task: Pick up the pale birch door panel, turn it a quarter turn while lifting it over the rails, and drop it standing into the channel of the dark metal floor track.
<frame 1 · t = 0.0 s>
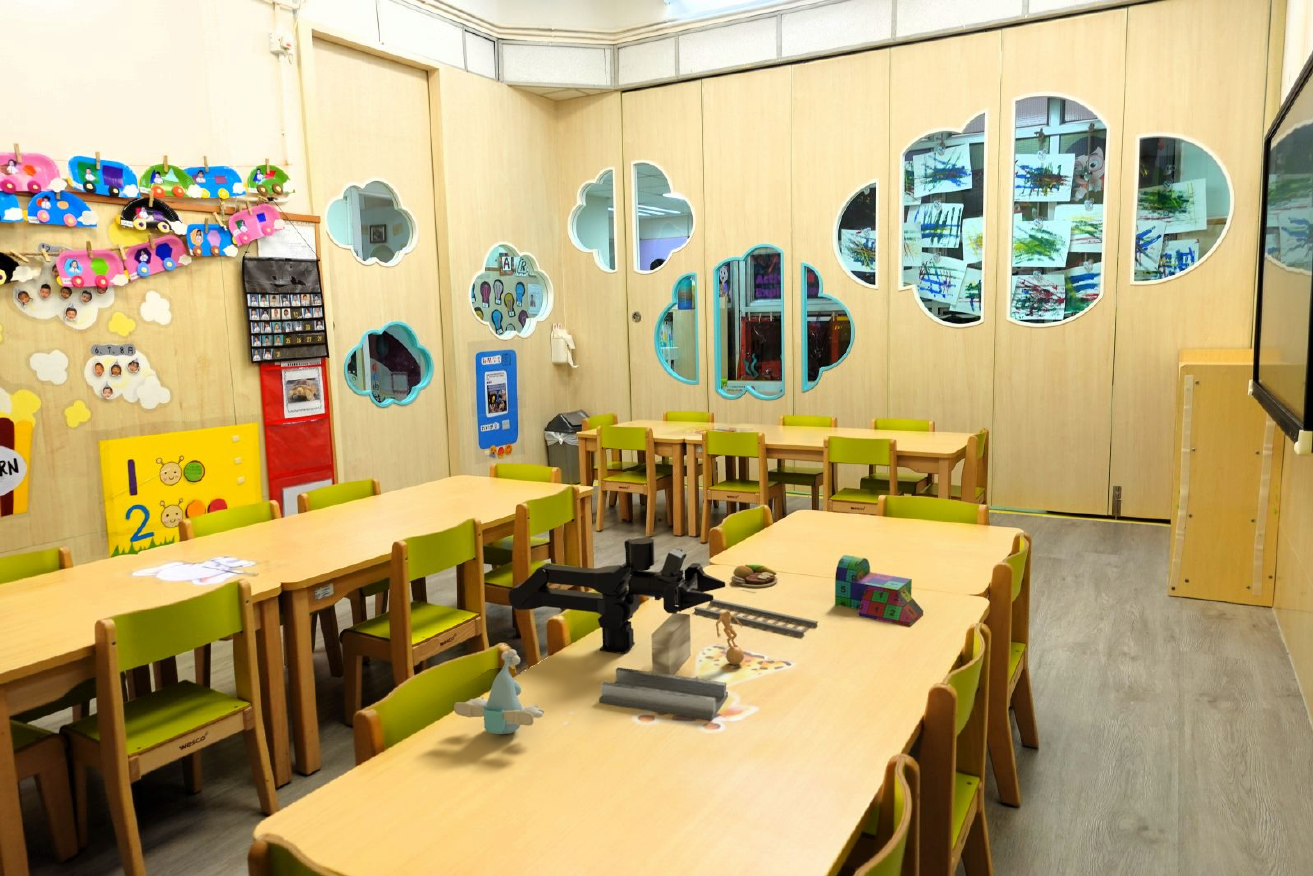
hand: (719, 591, 193), 17 cm above the table, tool horizontal, fingers open, 9 cm apart
toy figure: (506, 732, 165), on the table
figurine: (731, 663, 194), on the table
door panel: (672, 666, 193), on the table
toy food set: (753, 583, 251), on the table
model train track: (754, 622, 221), on the table
toy train engine: (878, 610, 226), on the table
floor track: (663, 699, 177), on the table
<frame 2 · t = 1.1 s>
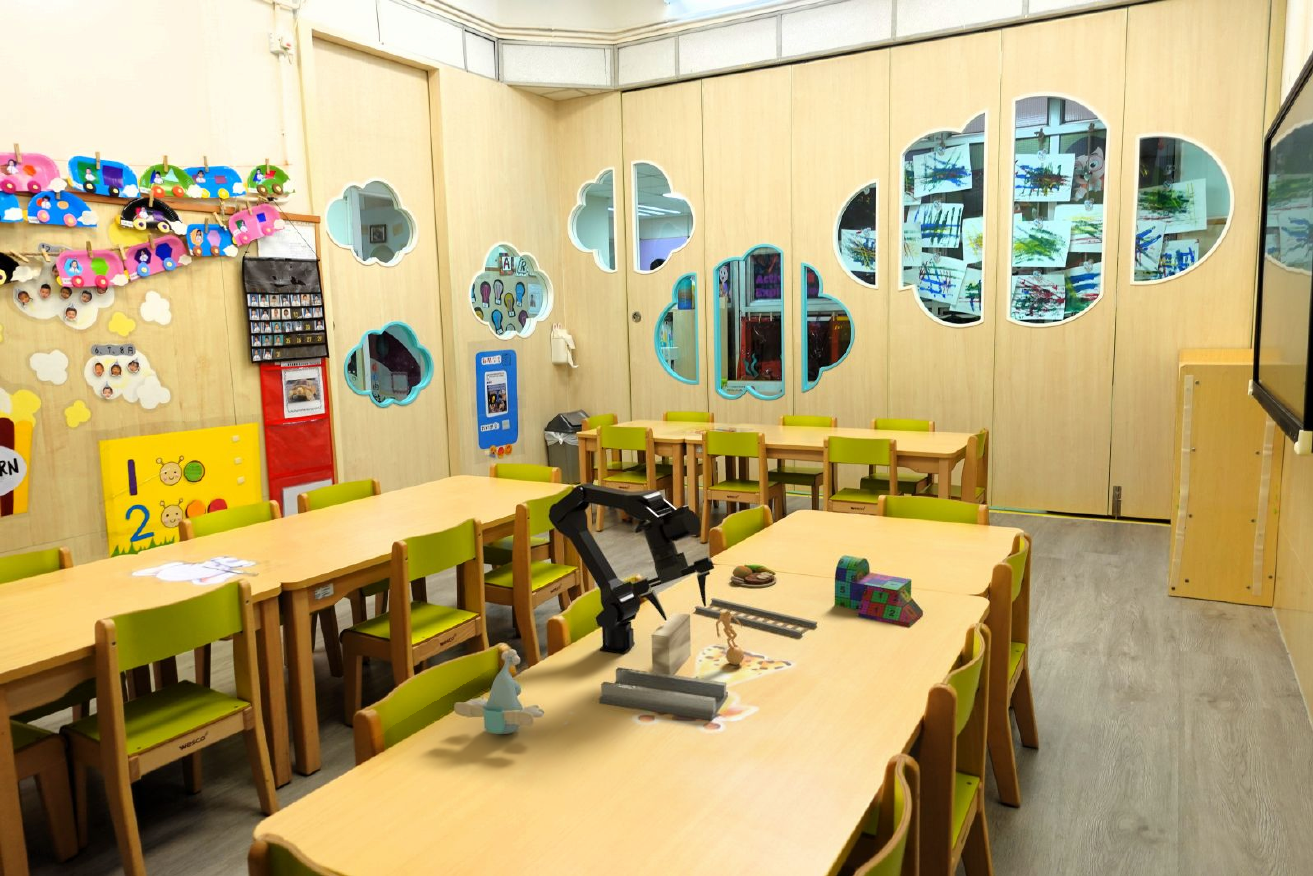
hand: (685, 613, 191), 12 cm above the table, tool tilted 25°, fingers open, 9 cm apart
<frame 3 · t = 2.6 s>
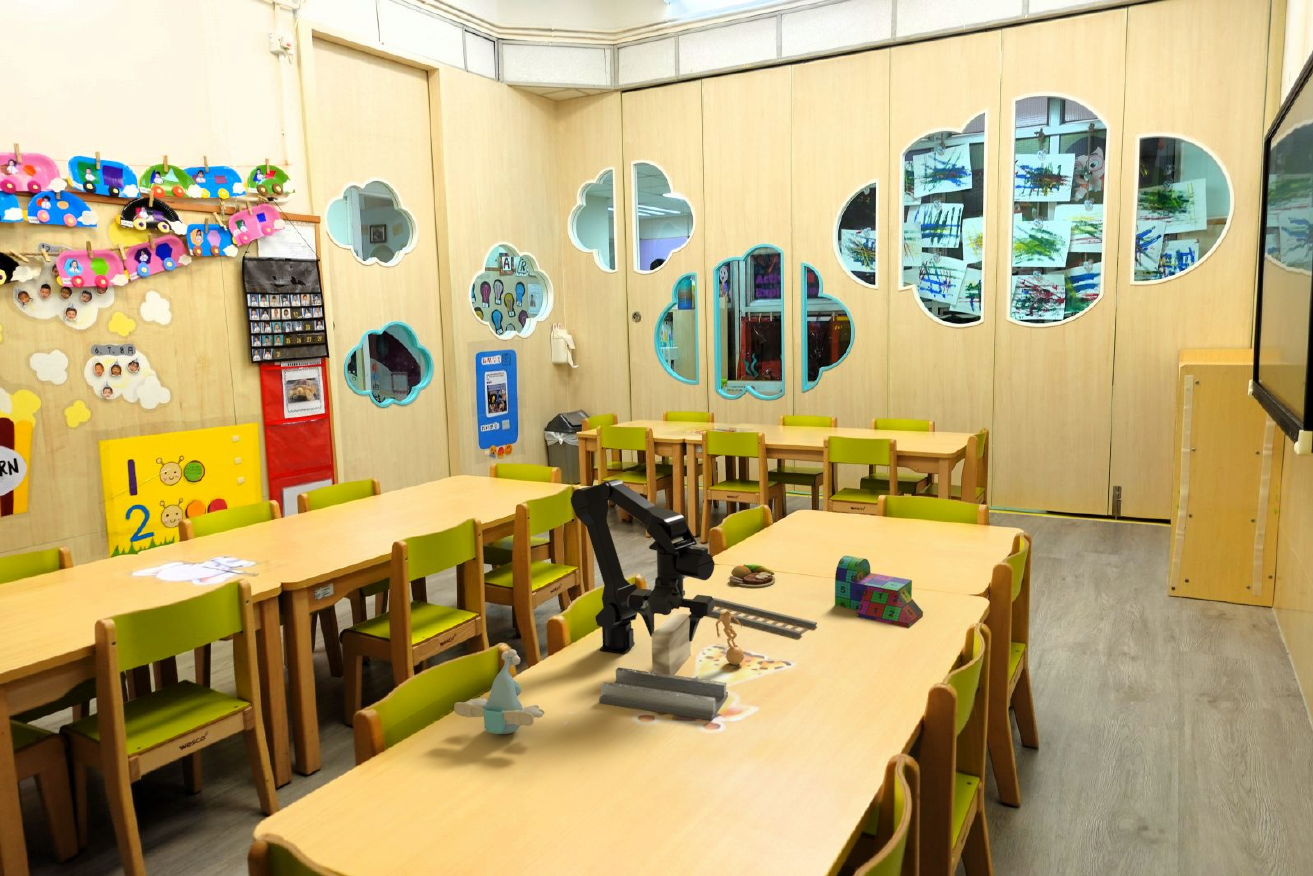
hand: (671, 638, 192), 6 cm above the table, tool pointing down, fingers open, 9 cm apart
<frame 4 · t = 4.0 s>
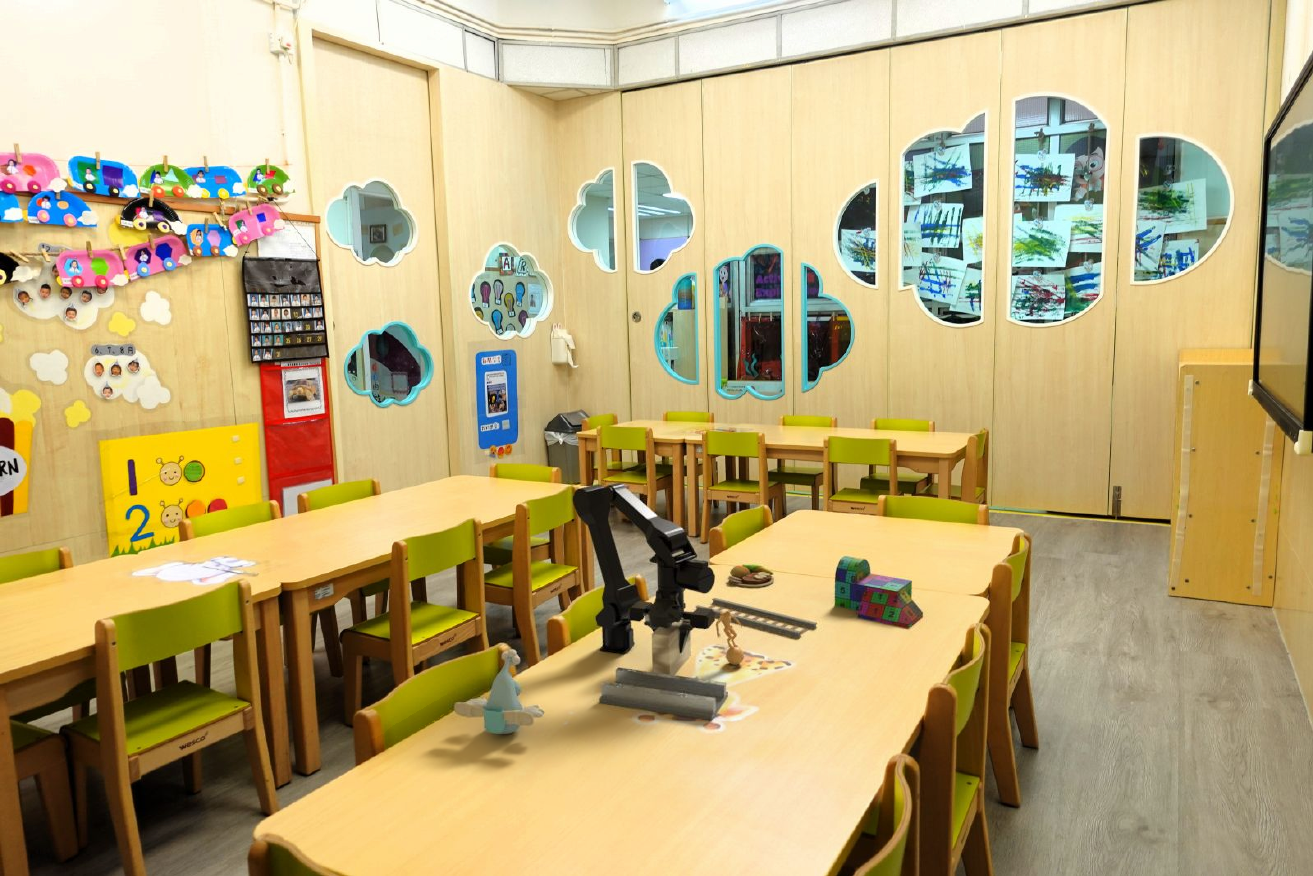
hand: (672, 651, 192), 4 cm above the table, tool pointing down, fingers closed on door panel, 4 cm apart
door panel: (672, 666, 193), on the table, touching gripper
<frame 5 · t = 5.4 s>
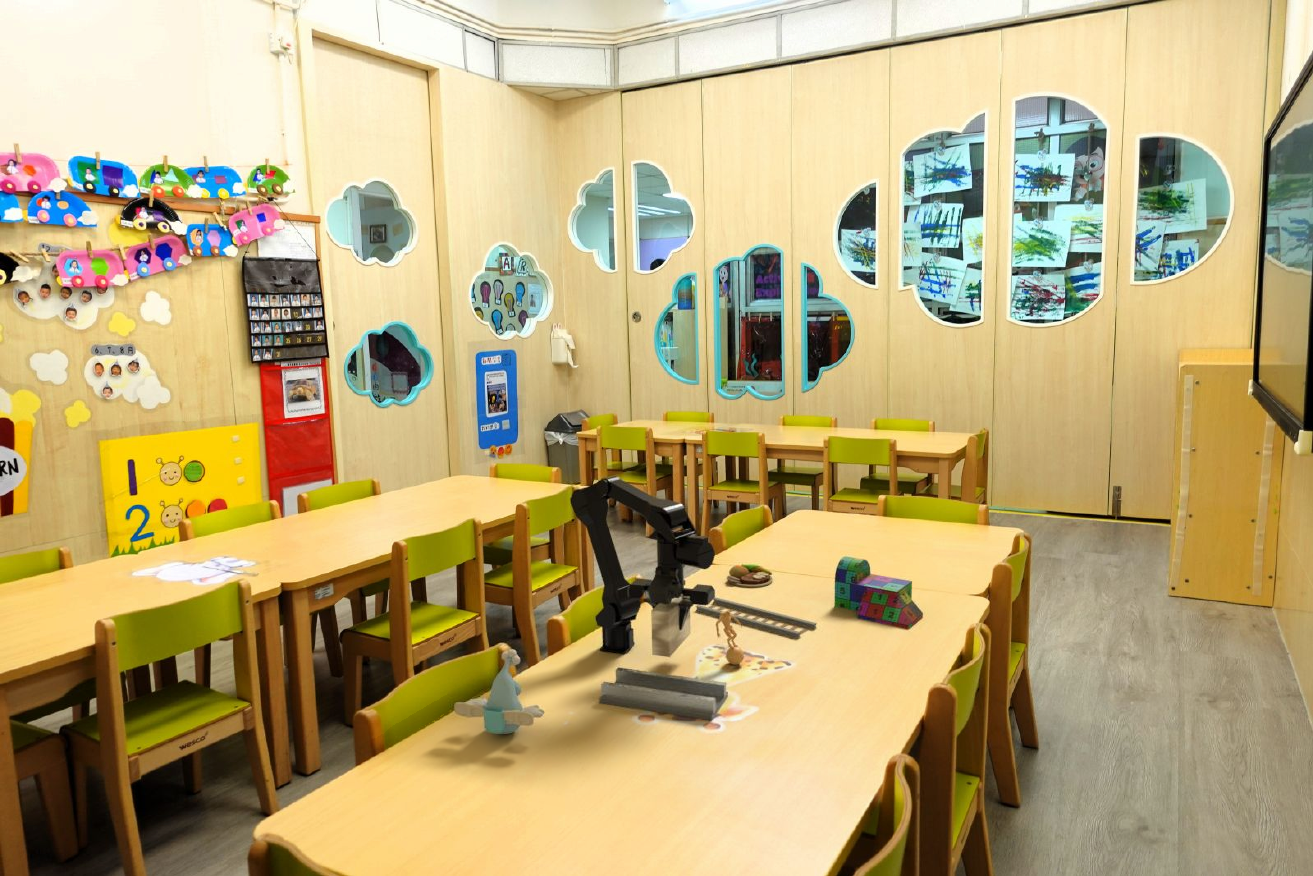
hand: (671, 628, 192), 9 cm above the table, tool pointing down, fingers closed on door panel, 4 cm apart
door panel: (672, 644, 192), point 5 cm above the table, touching gripper
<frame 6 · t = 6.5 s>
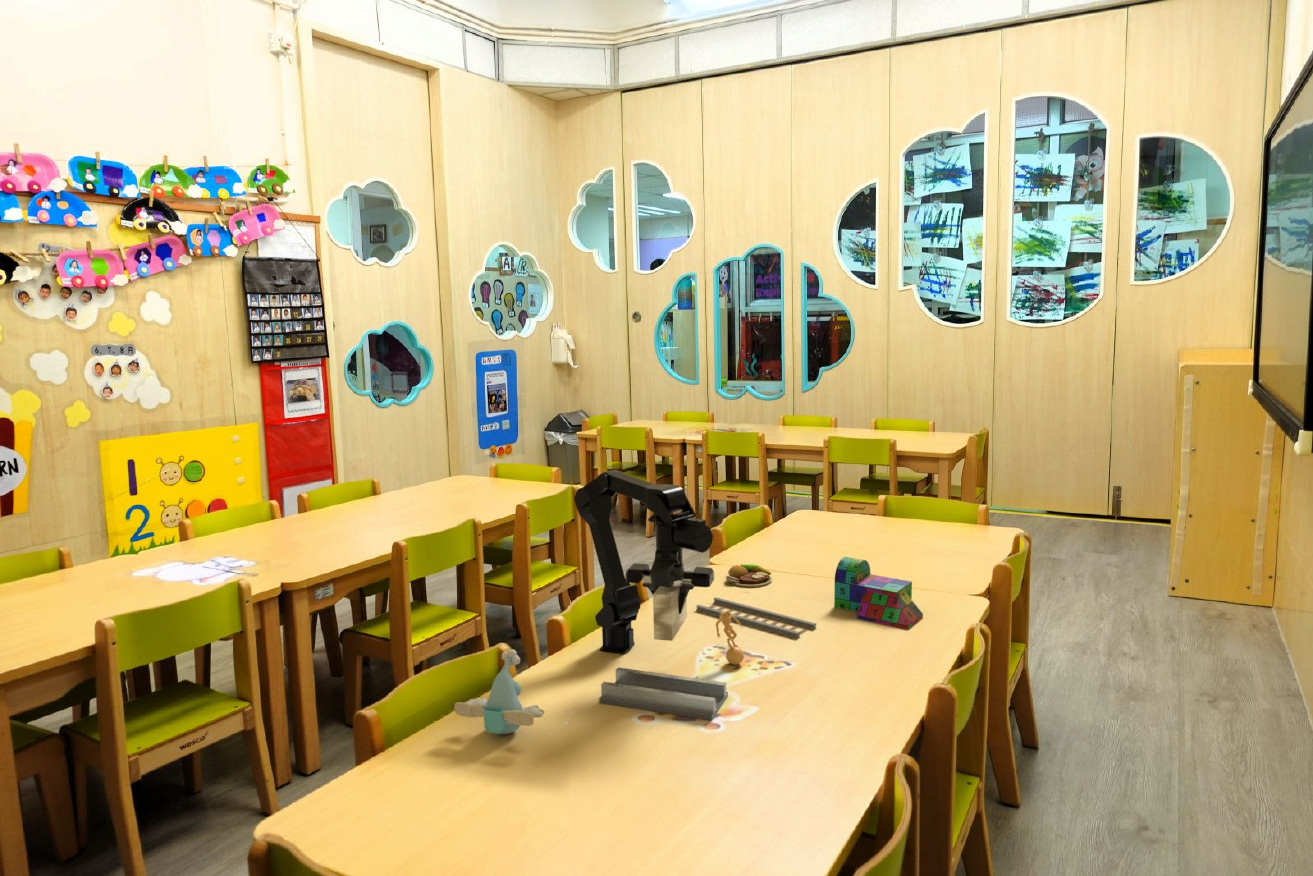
hand: (670, 612, 190), 13 cm above the table, tool pointing down, fingers closed on door panel, 4 cm apart
door panel: (670, 628, 190), point 9 cm above the table, touching gripper
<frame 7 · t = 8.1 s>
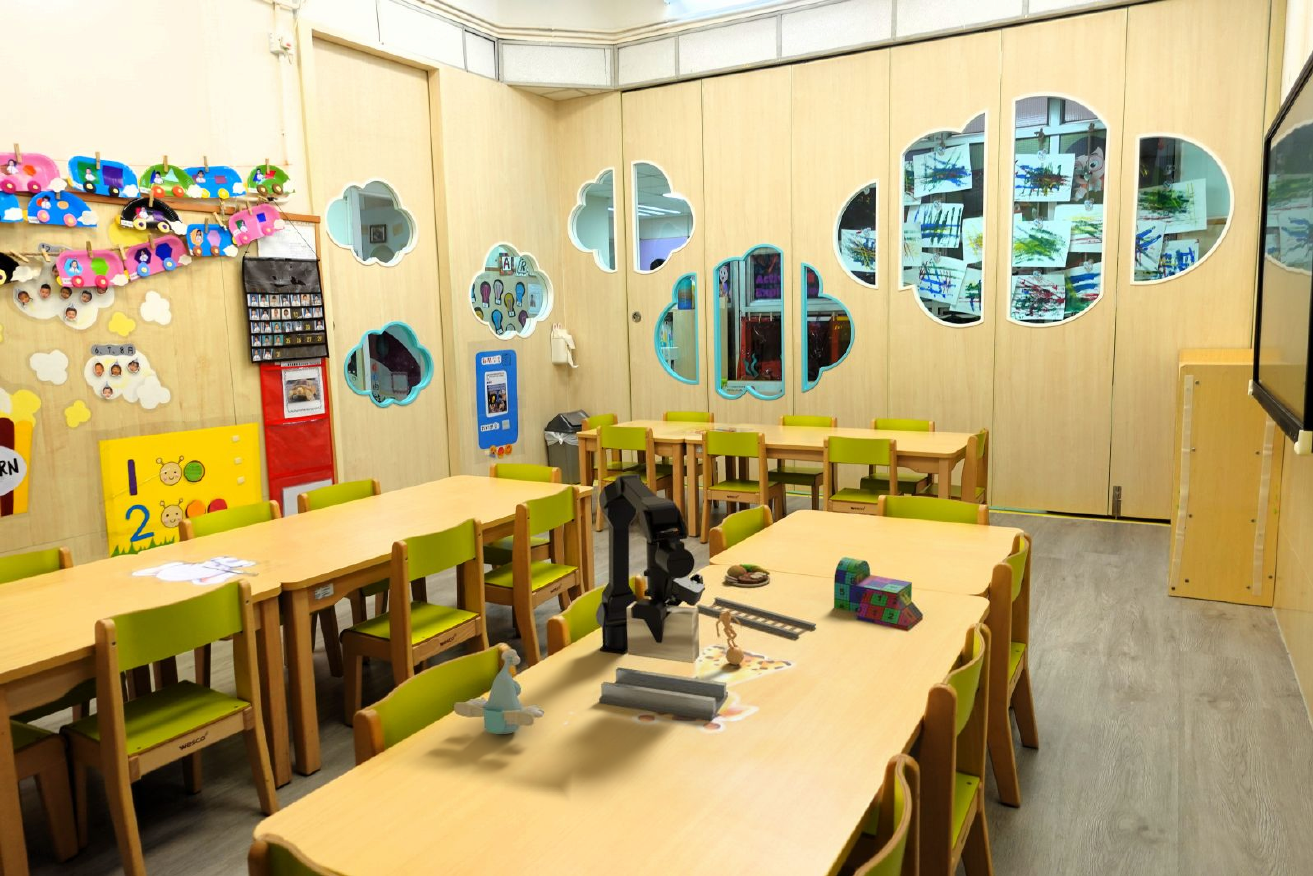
hand: (662, 638, 175), 13 cm above the table, tool pointing down, fingers closed on door panel, 4 cm apart
door panel: (663, 655, 175), point 10 cm above the table, touching gripper
when the fingers open (6 cm above the table, at t = 11.2 s): door panel drops 1 cm, resting on floor track.
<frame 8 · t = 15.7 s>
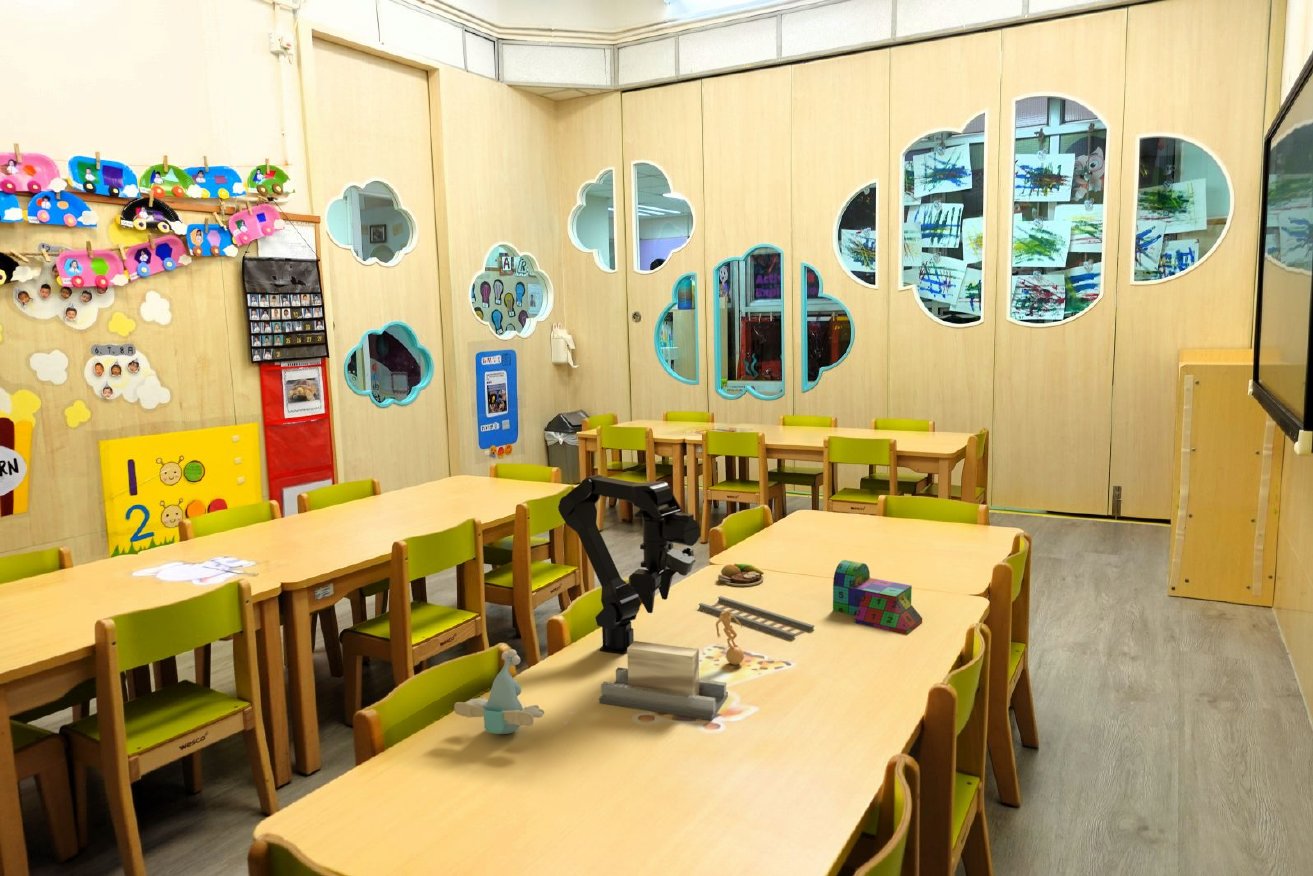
hand: (657, 605, 194), 13 cm above the table, tool pointing down, fingers open, 9 cm apart
door panel: (663, 695, 177), point 1 cm above the table, touching floor track
toy food set: (740, 582, 253), on the table
toy train engine: (876, 617, 221), on the table
at the end: door panel inside the target area on the floor track (0.0 cm from its centre), point 1.0 cm above the floor track's base; door panel tilted 0°; the gripper is holding nothing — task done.
